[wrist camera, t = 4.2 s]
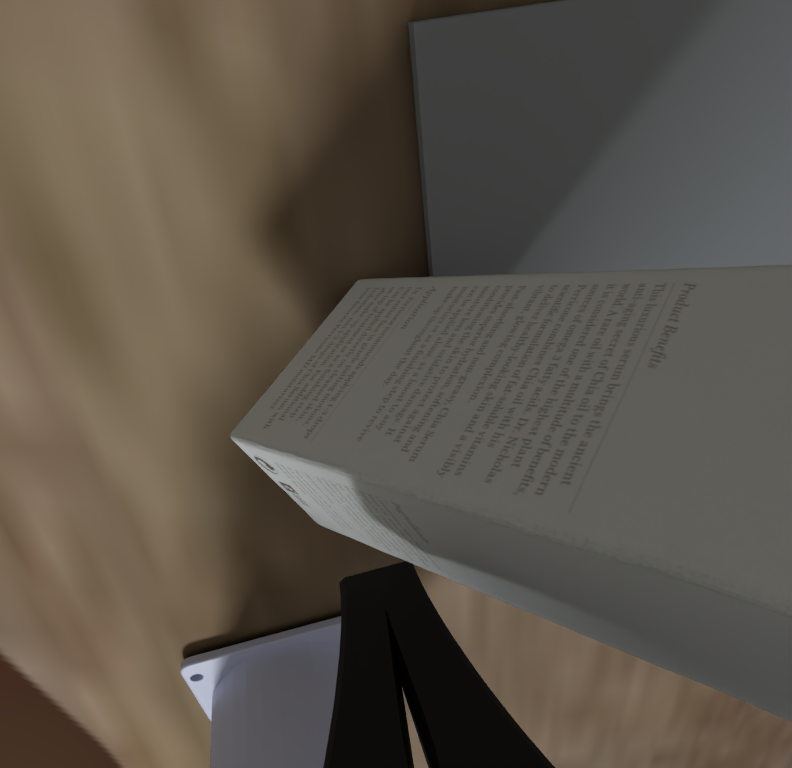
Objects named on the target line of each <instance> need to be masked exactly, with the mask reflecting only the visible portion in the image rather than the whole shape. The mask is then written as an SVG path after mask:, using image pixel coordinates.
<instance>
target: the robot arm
mask: <svg viewBox="0 0 792 768" xmlns="http://www.w3.org/2000/svg"><path fill="white" fill-rule="evenodd" d="M340 593H341V616H339V617H335V618H332V619H328V620H324V621H320V622H317V623H313V624H309V625H306V626H302V627H298V628H295V629H291V630H287V631H283V632H280V633H276V634H272V635H269V636H265V637H261V638H258V639H254V640H250V641H247V642H243V643H239V644H235V645H232V646H228V647H224V648H221V649H217V650H213V651H210V652H206V653H202V654H198V655H195V656H191V657H188V658H186V659H185V660H183V661H182V663H181V669H180V672H181V675H182V676H183V678H184V680H185V681H186V683H187V684H188V686H189V688H190V689H191V691H192V692H193V694H194V696H195V697H196V699H197V701H198V702H199V704H200V705H201V707H202V709H203V710H204V712H205V713H206V715H207V717H208V718H209V720H210V722H211V746H210V768H414V764H413V758H412V751H411V744H410V738H409V731H408V724H407V718H406V711H405V704H404V698H403V691H404V694H405V697H406V700H407V703H408V706H409V709H410V712H411V715H412V718H413V721H414V724H415V727H416V731H417V734H418V737H419V740H420V743H421V746H422V749H423V752H424V755H425V758H426V761H427V764H428V767H429V768H555V767H554V766H553V765H552V764H551V763H550V762H549V760H548V759H547V758H546V757H545V756H544V755H543V753H542V752H541V751H540V750H539V749H538V748H537V747H536V745H535V744H534V743H533V742H532V741H531V740H530V738H529V737H528V736H527V735H526V734H525V732H524V731H523V730H522V729H521V728H520V726H519V725H518V724H517V723H516V722H515V720H514V719H513V718H512V717H511V715H510V714H509V713H508V712H507V710H506V709H505V708H504V707H503V705H502V704H501V703H500V701H499V700H498V699H497V697H496V696H495V695H494V694H493V692H492V691H491V690H490V688H489V687H488V686H487V684H486V683H485V682H484V680H483V679H482V678H481V676H480V675H479V674H478V672H477V671H476V670H475V668H474V667H473V665H472V664H471V662H470V661H469V659H468V658H467V657H466V655H465V654H464V652H463V651H462V649H461V648H460V646H459V645H458V644H457V642H456V641H455V639H454V638H453V636H452V635H451V633H450V632H449V630H448V628H447V627H446V625H445V624H444V622H443V620H442V619H441V617H440V615H439V614H438V612H437V611H436V609H435V607H434V606H433V604H432V602H431V600H430V598H429V597H428V595H427V593H426V591H425V589H424V587H423V585H422V583H421V581H420V579H419V577H418V575H417V573H416V571H415V568H414V566H413V564H412V563H410V562H407V561H405V562H402V563H398V564H394V565H390V566H387V567H383V568H379V569H375V570H371V571H368V572H364V573H360V574H356V575H353V576H349V577H345V578H344V579H343V580H342V581H341V582H340ZM402 688H403V691H402Z"/></svg>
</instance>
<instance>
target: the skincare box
mask: <svg viewBox="0 0 792 768" xmlns="http://www.w3.org/2000/svg"><path fill="white" fill-rule="evenodd" d="M230 436H231V439H232V440H233V441H234V442H235V443H236V444H237V445H238V446H239V447H240V448H241V449H242V450H243V451H244V452H245V453H246V454H247V455H248V456H249V457H250V458H251V459H252V460H253V461H254V462H255V463H256V464H257V465H258V466H259V467H260V468H261V469H262V470H263V471H264V472H265V473H266V474H267V475H268V476H269V477H270V478H271V479H272V480H274V481H275V482H276V483H277V484H278V485H279V486H280V487H281V488H282V489H283V490H284V491H285V492H286V493H287V494H288V495H289V496H290V497H291V498H292V499H293V500H294V501H295V502H296V503H297V504H298V505H299V506H300V507H302V508H303V509H304V510H305V512H306V513H307V514H308V515H309V516H310V517H311V518H312V519H313V520H314V521H315V522H316V523H318V524H319V525H321V526H323V527H325V528H328V529H330V530H333V531H335V532H338V533H340V534H343V535H345V536H348V537H350V538H352V539H355V540H357V541H359V542H362V543H364V544H366V545H369V546H371V547H373V548H376V549H378V550H380V551H382V552H385V553H387V554H390V555H392V556H395V557H397V558H400V559H402V560H405V561H407V562H410V563H412V564H414V565H417V566H419V567H421V568H424V569H426V570H429V571H431V572H433V573H436V574H438V575H441V576H443V577H445V578H448V579H450V580H453V581H455V582H458V583H460V584H462V585H465V586H467V587H470V588H472V589H474V590H477V591H479V592H482V593H484V594H486V595H489V596H491V597H493V598H496V599H498V600H501V601H503V602H505V603H508V604H510V605H513V606H515V607H517V608H520V609H523V610H525V611H528V612H530V613H533V614H535V615H537V616H540V617H542V618H544V619H547V620H549V621H552V622H554V623H557V624H559V625H562V626H564V627H567V628H569V629H571V630H574V631H576V632H578V633H580V634H582V635H585V636H587V637H589V638H592V639H594V640H597V641H599V642H602V643H604V644H607V645H609V646H611V647H614V648H616V649H619V650H621V651H624V652H626V653H628V654H631V655H633V656H636V657H638V658H640V659H643V660H645V661H648V662H650V663H652V664H655V665H657V666H659V667H662V668H664V669H667V670H669V671H672V672H674V673H677V674H680V675H682V676H685V677H687V678H690V679H692V680H695V681H697V682H700V683H702V684H705V685H707V686H710V687H712V688H714V689H717V690H719V691H721V692H723V693H726V694H728V695H730V696H733V697H735V698H737V699H740V700H742V701H744V702H747V703H749V704H751V705H754V706H756V707H758V708H761V709H763V710H765V711H768V712H770V713H772V714H775V715H777V716H780V717H782V718H785V719H787V720H789V721H792V265H764V266H744V267H718V268H683V269H658V270H628V271H595V272H559V273H537V274H499V275H473V276H439V277H404V278H375V279H360V280H358V281H356V283H355V284H354V285H353V286H352V288H351V289H350V290H349V291H348V293H347V294H346V295H345V296H344V297H343V299H342V300H341V301H340V302H339V304H338V305H337V306H336V307H335V308H334V310H333V311H332V312H331V313H330V314H329V316H328V317H327V318H326V319H325V321H324V322H323V323H322V324H321V325H320V327H319V328H318V329H317V330H316V331H315V333H314V334H313V335H312V336H311V337H310V339H309V340H308V341H307V342H306V343H305V345H304V346H303V347H302V348H301V349H300V351H299V352H298V353H297V354H296V355H295V357H294V358H293V359H292V360H291V362H290V363H289V364H288V365H287V366H286V368H285V369H284V370H283V371H282V372H281V374H280V375H279V376H278V377H277V378H276V380H275V381H274V382H273V383H272V384H271V386H270V387H269V388H268V389H267V390H266V392H265V393H264V394H263V395H262V396H261V397H260V399H259V400H258V401H257V402H256V404H255V405H254V406H253V407H252V409H251V410H250V411H249V412H248V413H247V414H246V416H245V417H244V418H243V419H242V420H241V422H240V423H239V424H238V425H237V426H236V427H235V428H234V430H233V431H232V432H231V434H230Z"/></svg>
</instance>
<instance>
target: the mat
mask: <svg viewBox="0 0 792 768" xmlns="http://www.w3.org/2000/svg"><path fill="white" fill-rule="evenodd" d="M408 28H409V41H410V53H411V65H412V77H413V89H414V101H415V113H416V125H417V137H418V149H419V161H420V173H421V185H422V197H423V210H424V222H425V234H426V246H427V258H428V270H429V277H439V276H473V275H499V274H537V273H559V272H595V271H628V270H658V269H683V268H718V267H744V266H764V265H792V0H558V1H551V2H544V3H537V4H530V5H523V6H516V7H510V8H503V9H496V10H489V11H482V12H475V13H468V14H461V15H454V16H447V17H440V18H433V19H427V20H420V21H413V22H408Z"/></svg>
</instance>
